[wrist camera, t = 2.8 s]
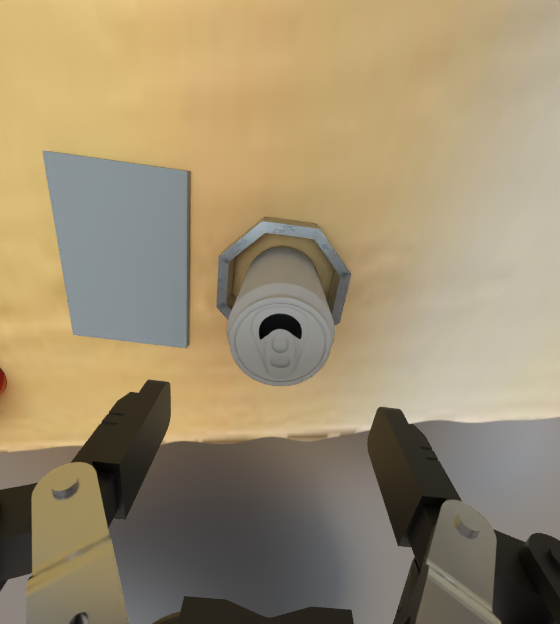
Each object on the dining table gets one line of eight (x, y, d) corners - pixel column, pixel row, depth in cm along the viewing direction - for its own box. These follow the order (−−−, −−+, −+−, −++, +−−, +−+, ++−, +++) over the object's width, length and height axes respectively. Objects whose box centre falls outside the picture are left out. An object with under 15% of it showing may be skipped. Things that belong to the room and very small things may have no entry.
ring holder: (352, 228, 25) (360, 234, 23) (328, 337, 30) (332, 353, 27) (227, 211, 25) (220, 215, 22) (221, 324, 29) (215, 339, 27)
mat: (190, 171, 24) (187, 171, 23) (188, 344, 30) (186, 348, 30) (49, 151, 23) (42, 150, 23) (78, 331, 30) (73, 334, 29)
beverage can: (318, 244, 26) (342, 290, 15) (315, 311, 29) (334, 392, 18) (245, 244, 26) (216, 290, 15) (249, 312, 29) (227, 392, 18)
